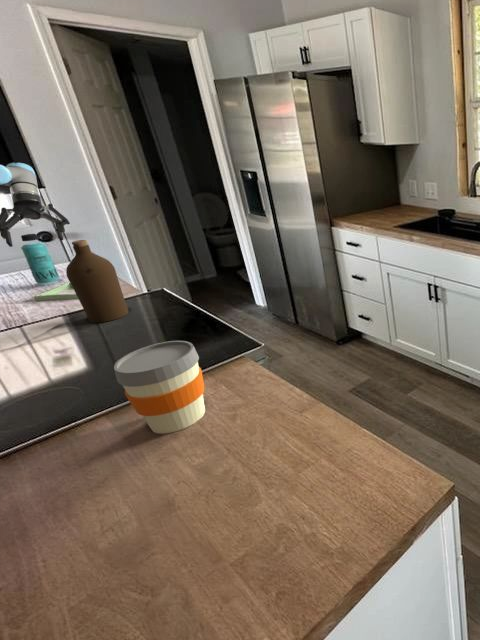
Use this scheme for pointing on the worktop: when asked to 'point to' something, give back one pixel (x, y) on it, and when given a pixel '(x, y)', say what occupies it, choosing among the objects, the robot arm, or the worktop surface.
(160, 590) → the worktop surface
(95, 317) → the brown jug bottle
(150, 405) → the reusable coffee cup
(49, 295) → the back pad
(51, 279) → the beverage bottle
